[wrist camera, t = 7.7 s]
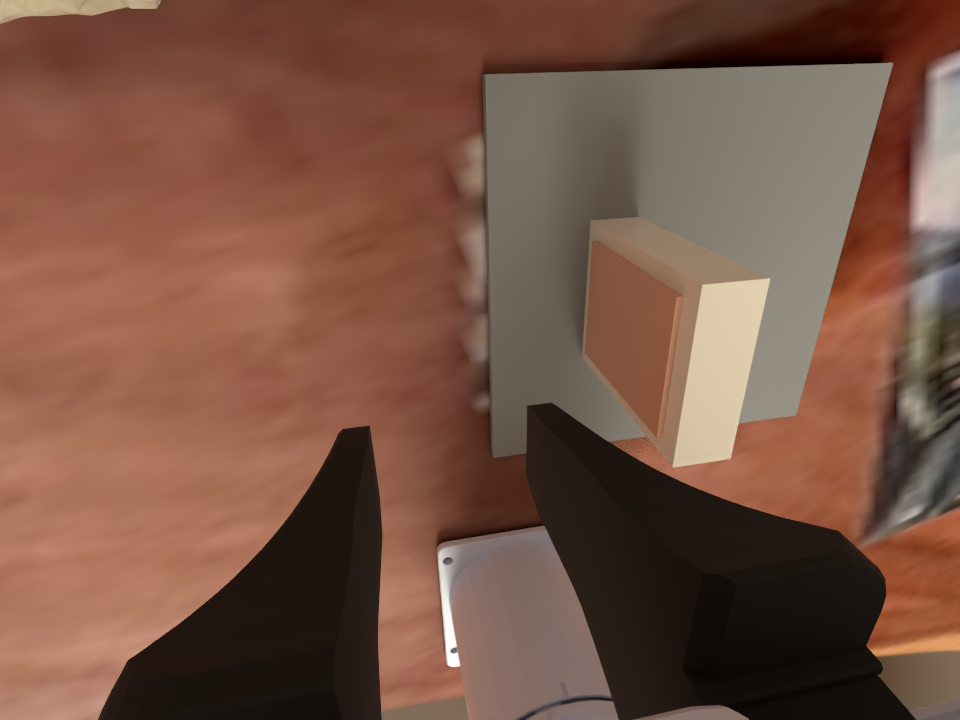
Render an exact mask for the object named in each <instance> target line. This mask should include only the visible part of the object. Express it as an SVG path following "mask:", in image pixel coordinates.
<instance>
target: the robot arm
mask: <svg viewBox="0 0 960 720" xmlns="http://www.w3.org/2000/svg"><path fill="white" fill-rule="evenodd" d="M526 475H527V479H528V482H529V485H530V489H531V492H532V495H533V498H534V501H535V504H536V508H537V510H538V513H539V515H540V517H541V519H542V522H543V524H544V526H539V527H533V528H527V529H520V530H514V531H508V532H502V533H496V534H490V535H484V536H478V537H472V538H466V539H460V540H453V541H447V542H443V543H441V544H440V545H439V546H438V547H437V559H438V571H439V582H440V594H441V605H442V617H443V628H444V640H445V651H446V661H447V664H448V665H449V666H451V667H457V666H460V669H461V675H462V680H463V686H464V692H465V698H466V704H467V710H468V716H469V720H960V698H958V699H954V700H949V701H945V702H942V703H937V704H933V705H929V706H925V707H922V708H917V709H913V710H909V711H908V709H907V708H906V707H905V706H904V705H903V704H902V703H901V702H900V701H899V699H898V698H897V697H896V696H895V695H894V694H893V692H892V691H891V690H890V689H889V688H888V687H887V686H886V685H885V683H884V682H883V681H882V680H881V679H880V678H879V676H878V674H881V672H882V670H883V667H882V664H881V662H880V661H879V660H878V659H877V658H876V657H875V655H874V654H873V653H872V652H871V651H870V650H869V649H868V648H867V647H866V644H867V642H868V640H869V638H870V636H871V633H872V631H873V629H874V627H875V624H876V622H877V620H878V618H879V615H880V613H881V611H882V608H883V604H884V601H885V598H886V583H885V578H884V576H883V574H882V573H881V571H880V569H879V568H878V567H877V566H876V565H875V564H874V563H872V562H871V561H870V560H869V559H868V558H867V557H866V556H865V555H864V554H863V553H862V552H861V551H860V550H858V549H857V548H856V547H855V546H854V545H853V544H852V543H851V542H850V541H849V540H848V539H847V538H846V537H844V536H843V535H842V534H841V533H840V532H839V531H837V530H832V529H828V528H824V527H820V526H815V525H811V524H807V523H803V522H798V521H794V520H790V519H786V518H782V517H778V516H775V515H771V514H768V513H765V512H761V511H758V510H755V509H752V508H748V507H745V506H742V505H739V504H736V503H733V502H730V501H727V500H725V499H722V498H720V497H717V496H714V495H712V494H709V493H707V492H704V491H702V490H699V489H697V488H694V487H692V486H690V485H687V484H685V483H683V482H680V481H678V480H676V479H674V478H672V477H670V476H668V475H666V474H664V473H662V472H660V471H658V470H656V469H654V468H652V467H650V466H648V465H646V464H644V463H643V462H641V461H639V460H638V459H636V458H634V457H632V456H631V455H629V454H627V453H626V452H624V451H622V450H621V449H619V448H617V447H616V446H614V445H613V444H611V443H610V442H608V441H607V440H605V439H603V438H602V437H601V436H599V435H598V434H596V433H595V432H593V431H592V430H590V429H589V428H587V427H586V426H585V425H583V424H582V423H580V422H579V421H577V420H576V419H575V418H573V417H572V416H570V415H569V414H568V413H566V412H565V411H563V410H562V409H561V408H559V407H558V406H556V405H555V404H553V403H544V404H536V405H529V406H527V450H526ZM381 552H382V523H381V508H380V495H379V488H378V481H377V474H376V467H375V460H374V453H373V446H372V439H371V432H370V426H364V427H356V428H348V429H342V430H341V432H340V433H339V434H338V436H337V438H336V440H335V442H334V445H333V447H332V449H331V451H330V453H329V455H328V456H327V458H326V460H325V462H324V464H323V466H322V467H321V469H320V471H319V472H318V474H317V476H316V477H315V479H314V481H313V482H312V484H311V485H310V487H309V489H308V490H307V492H306V493H305V495H304V496H303V497H302V499H301V500H300V502H299V503H298V505H297V506H296V507H295V509H294V510H293V512H292V513H291V515H290V516H289V517H288V518H287V520H286V521H285V522H284V524H283V525H282V526H281V527H280V529H279V530H278V531H277V532H276V534H275V535H274V536H273V537H272V538H271V539H270V541H269V542H268V543H267V544H266V545H265V546H264V547H263V549H262V550H261V551H260V552H259V553H258V554H257V555H256V556H255V557H254V558H253V559H252V560H251V561H250V562H249V563H248V564H247V565H246V566H245V567H244V568H243V569H242V570H241V571H240V572H239V573H238V574H237V575H236V576H235V577H234V578H233V579H232V580H231V581H230V582H229V583H228V584H227V585H226V586H224V587H223V588H222V589H221V590H220V591H219V592H218V593H216V594H215V595H214V596H213V597H212V598H211V599H209V600H208V601H207V602H206V603H205V604H203V605H202V606H201V607H200V608H199V609H197V610H196V611H195V612H194V613H192V614H191V615H190V616H189V617H187V618H186V619H185V620H184V621H182V622H181V623H180V624H178V625H177V626H176V627H174V628H173V629H171V630H170V631H169V632H167V633H166V634H165V635H163V636H162V637H160V638H159V639H158V640H156V641H155V642H153V643H152V644H151V645H149V646H148V647H147V648H145V649H144V650H142V651H141V652H140V653H138V654H137V655H135V656H134V657H132V658H131V659H129V660H128V661H127V663H126V665H125V667H124V669H123V671H122V673H121V675H120V676H119V678H118V680H117V682H116V683H115V685H114V687H113V689H112V690H111V693H110V695H109V697H108V699H107V701H106V703H105V705H104V707H103V709H102V711H101V714H100V716H99V719H98V720H381V700H380V680H379V659H378V613H379V593H380V573H381ZM447 557H450V558H449V559H445V558H447Z"/></svg>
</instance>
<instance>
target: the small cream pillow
mask: <svg viewBox="0 0 960 720" xmlns="http://www.w3.org/2000/svg"><path fill="white" fill-rule="evenodd" d="M161 1H162V0H0V24H1V23H4V22H7V21H11V20H14V19H17V18H21V17H26V16H57V15H67V14H80V15H92V16H93V15H97V14H100V13H104V12H108V11H112V10H116V9H121V8H126V7H129V8H131V9H157V7H158V6H159V4H160V2H161Z"/></svg>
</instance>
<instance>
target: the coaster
mask: <svg viewBox="0 0 960 720" xmlns="http://www.w3.org/2000/svg"><path fill="white" fill-rule="evenodd" d="M769 282H770V278H769V277H767V276H765V275H762V274H760V273H758V272H756V271H754V270H752V269H749V268H747V267H745V266H743V265H741V264H739V263H736V262H734V261H732V260H730V259H728V258H726V257H724V256H721V255H719V254H717V253H715V252H713V251H711V250H708V249H706V248H704V247H702V246H700V245H698V244H695V243H693V242H691V241H689V240H687V239H685V238H683V237H680V236H678V235H676V234H674V233H672V232H670V231H667V230H665V229H663V228H661V227H659V226H657V225H655V224H652V223H650V222H648V221H646V220H644V219H642V218H639V217H630V218H616V219H603V220H590V236H589V252H588V268H587V284H586V300H585V316H584V332H583V347H582V358H583V359H584V360H585V361H586V363H587V364H588V365H589V366H590V368H591V369H592V370H593V371H594V372H595V374H596V375H597V376H598V377H599V379H600V380H601V381H602V382H603V383H604V385H605V386H606V387H607V388H608V390H609V391H610V392H611V393H612V394H613V396H614V397H615V398H616V399H617V401H618V402H619V403H620V404H621V405H622V407H623V408H624V409H625V410H626V412H627V413H628V414H629V415H630V416H631V418H632V419H633V420H634V421H635V423H636V424H637V425H638V426H639V427H640V429H641V430H642V431H643V432H644V434H645V435H646V436H647V437H648V438H649V440H650V441H651V442H652V443H653V444H654V446H655V447H656V448H657V449H658V451H659V452H660V453H661V454H662V455H663V457H664V458H665V459H666V460H667V462H668V463H669V464H670V465H671V466H672V468H674V467H680V466H687V465H693V464H700V463H706V462H713V461H719V460H726V459H731V454H732V450H733V445H734V441H735V436H736V432H737V427H738V423H739V418H740V414H741V409H742V405H743V400H744V396H745V391H746V386H747V382H748V377H749V373H750V368H751V364H752V359H753V355H754V350H755V346H756V341H757V337H758V332H759V328H760V323H761V319H762V314H763V310H764V305H765V301H766V296H767V292H768V287H769Z"/></svg>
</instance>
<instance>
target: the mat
mask: <svg viewBox="0 0 960 720" xmlns="http://www.w3.org/2000/svg"><path fill="white" fill-rule="evenodd" d="M892 66H893V63H871V64H835V65H800V66H764V67H728V68H693V69H657V70H621V71H585V72H550V73H514V74H484V75H483V119H484V163H485V206H486V250H487V294H488V338H489V381H490V425H491V453H492V456H493V458H498V457H505V456H512V455H519V454H526V450H527V406H529V405H536V404H544V403H553V404H555V405H556V406H558V407H559V408H561V409H562V410H563V411H565V412H566V413H568V414H569V415H570V416H572V417H573V418H575V419H576V420H577V421H579V422H580V423H582V424H583V425H585V426H586V427H587V428H589V429H590V430H592V431H593V432H595V433H596V434H598V435H599V436H601V437H602V438H603V439H605V440H607V441H608V442H611V441H618V440H625V439H632V438H639V437H646V435H645V434H644V432H643V431H642V430H641V429H640V427H639V426H638V425H637V424H636V423H635V421H634V420H633V419H632V418H631V416H630V415H629V414H628V413H627V412H626V410H625V409H624V408H623V407H622V405H621V404H620V403H619V402H618V401H617V399H616V398H615V397H614V396H613V394H612V393H611V392H610V391H609V390H608V388H607V387H606V386H605V385H604V383H603V382H602V381H601V380H600V379H599V377H598V376H597V375H596V374H595V372H594V371H593V370H592V369H591V368H590V366H589V365H588V364H587V363H586V361H585V360H584V359H583V358H582V347H583V332H584V316H585V300H586V284H587V268H588V252H589V236H590V220H603V219H616V218H630V217H639V218H642V219H644V220H646V221H648V222H650V223H652V224H655V225H657V226H659V227H661V228H663V229H665V230H667V231H670V232H672V233H674V234H676V235H678V236H680V237H683V238H685V239H687V240H689V241H691V242H693V243H695V244H698V245H700V246H702V247H704V248H706V249H708V250H711V251H713V252H715V253H717V254H719V255H721V256H724V257H726V258H728V259H730V260H732V261H734V262H736V263H739V264H741V265H743V266H745V267H747V268H749V269H752V270H754V271H756V272H758V273H760V274H762V275H765V276H767V277H769V278H770V282H769V287H768V292H767V296H766V301H765V305H764V310H763V314H762V319H761V323H760V328H759V332H758V337H757V341H756V346H755V350H754V355H753V359H752V364H751V368H750V373H749V377H748V382H747V386H746V391H745V396H744V400H743V405H742V409H741V414H740V418H739V423H745V422H752V421H759V420H766V419H773V418H780V417H787V416H794V415H796V413H797V410H798V406H799V402H800V399H801V395H802V391H803V388H804V384H805V381H806V377H807V373H808V370H809V366H810V362H811V359H812V355H813V352H814V348H815V344H816V341H817V337H818V334H819V330H820V326H821V323H822V319H823V315H824V312H825V308H826V305H827V301H828V297H829V294H830V290H831V286H832V283H833V279H834V276H835V272H836V268H837V265H838V261H839V257H840V254H841V250H842V247H843V243H844V239H845V236H846V232H847V229H848V225H849V221H850V218H851V214H852V210H853V207H854V203H855V200H856V196H857V192H858V189H859V185H860V181H861V178H862V174H863V171H864V167H865V163H866V160H867V156H868V152H869V149H870V145H871V142H872V138H873V134H874V131H875V127H876V124H877V120H878V116H879V113H880V109H881V105H882V102H883V98H884V95H885V91H886V87H887V84H888V80H889V76H890V73H891V69H892Z"/></svg>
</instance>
